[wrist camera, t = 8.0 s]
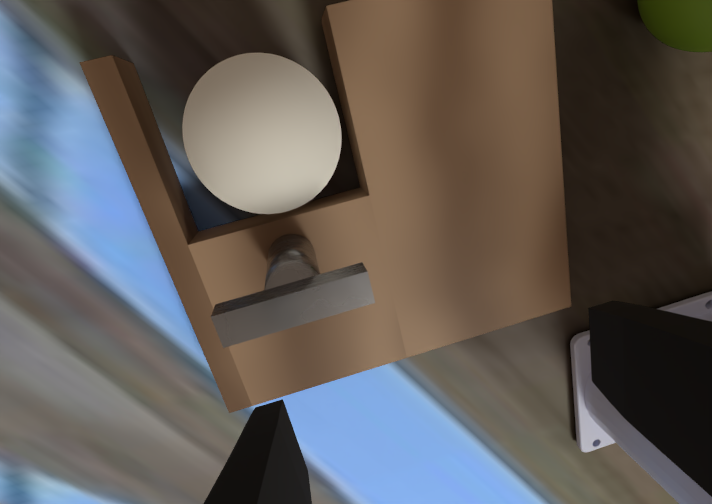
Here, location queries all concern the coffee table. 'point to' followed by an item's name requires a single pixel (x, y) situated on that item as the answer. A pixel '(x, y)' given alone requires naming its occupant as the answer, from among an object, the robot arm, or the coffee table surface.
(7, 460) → the coffee table surface
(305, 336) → the shelf board
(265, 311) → the hook post
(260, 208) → the ribbed cream cylinder
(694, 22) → the snail figurine
